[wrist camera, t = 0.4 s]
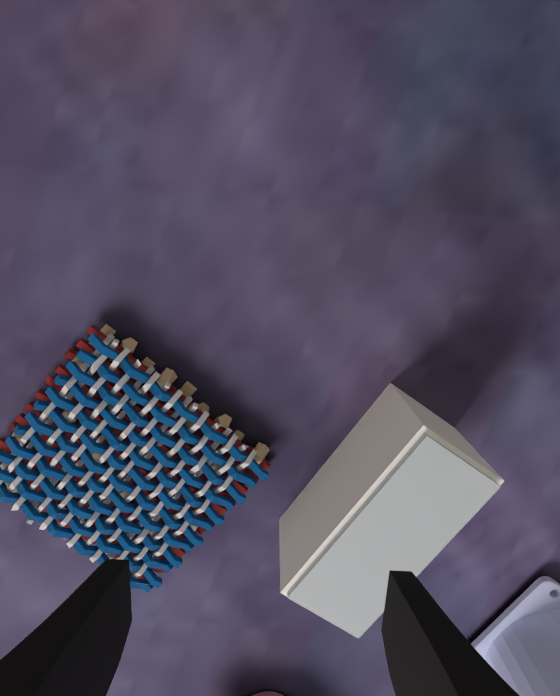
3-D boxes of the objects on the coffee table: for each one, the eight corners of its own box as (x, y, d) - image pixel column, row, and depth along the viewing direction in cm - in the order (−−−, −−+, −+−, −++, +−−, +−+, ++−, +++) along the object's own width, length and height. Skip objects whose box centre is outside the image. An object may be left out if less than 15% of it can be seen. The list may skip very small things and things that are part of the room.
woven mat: (106, 307, 20) (87, 315, 18) (280, 447, 21) (280, 469, 20) (-18, 461, 21) (-47, 484, 20) (151, 578, 23) (140, 609, 21)
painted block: (453, 426, 21) (508, 485, 16) (340, 554, 23) (359, 643, 18) (389, 381, 20) (426, 428, 15) (279, 517, 22) (280, 598, 17)
